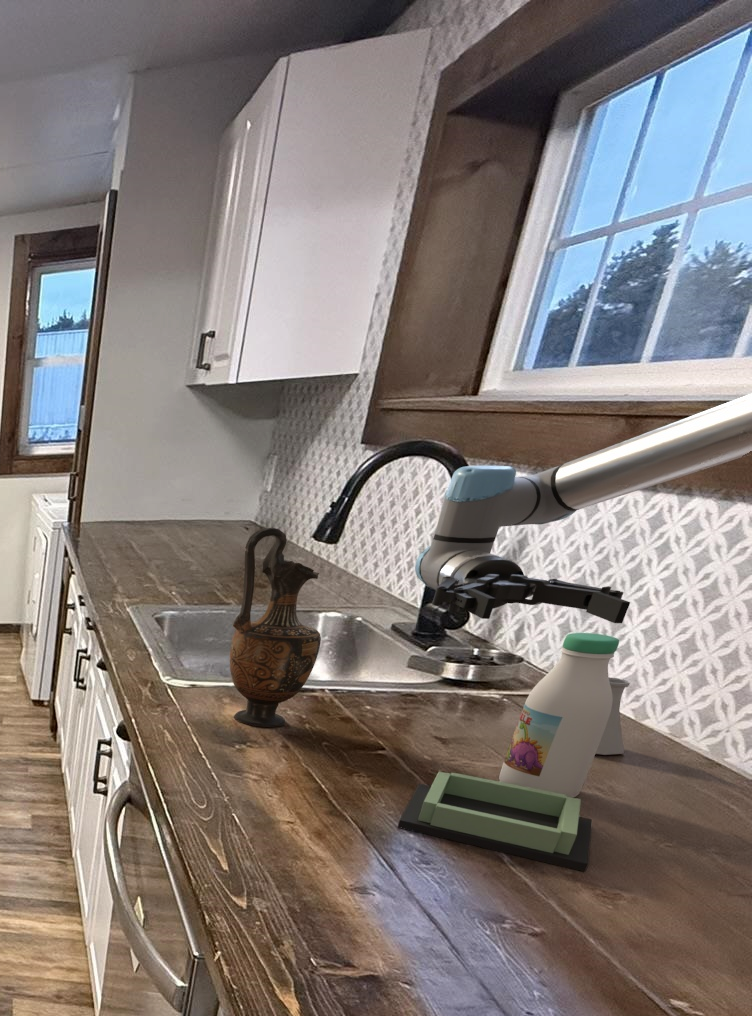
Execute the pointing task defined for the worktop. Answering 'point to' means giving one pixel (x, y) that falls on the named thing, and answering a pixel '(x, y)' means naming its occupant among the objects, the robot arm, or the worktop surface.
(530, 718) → the milk bottle
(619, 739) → the flask
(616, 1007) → the worktop surface
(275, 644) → the vase
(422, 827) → the docking pad
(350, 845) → the worktop surface
